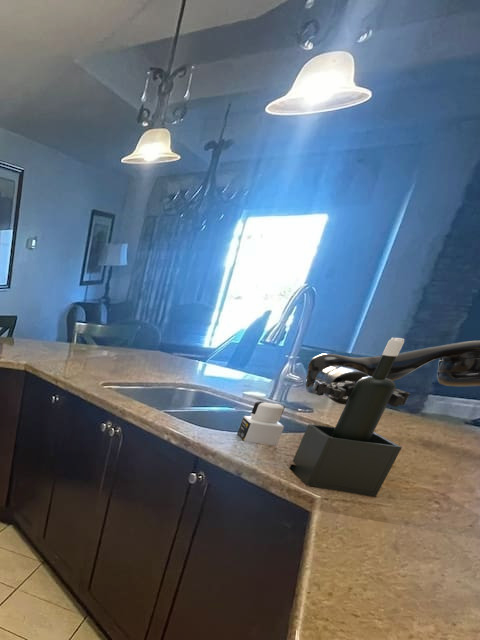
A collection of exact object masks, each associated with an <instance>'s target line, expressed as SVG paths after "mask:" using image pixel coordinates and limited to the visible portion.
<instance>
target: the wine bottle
mask: <svg viewBox="0 0 480 640" xmlns="http://www.w3.org/2000/svg"><path fill="white" fill-rule="evenodd" d="M404 343H405V338H402V337H390V339H389V340H388V341H387V343H386V346H385V348H384V350H383V351H382V354H381V355H382V357H381V359H380V361H379V364H378V366H377V368H376V370H375V372H374V374H373V376H369V377H364V378H361V379H360V380H358V381H357V382H356V384H355V386H354V388H353V390H352V392H351V395H350V397H349V399H348V401H347V403H346V405H344V408H343V409H342V412H341V414H340V416H339V418H338V420H337V423H336V425H335V429H334V431H333V433H332V436H331V437H333V438H340V439H348V440H355V441H363V442H369V440H370V438H371V436H372V434H373V432H375V430H376V428H377V426H378V424H379V422H380V420H381V418H382V416H383V414H384V412H385V410H386V408H387V406H388V405H389V404H388V402H389V400H390V398H391V396H392V394H393V392H394V390H395V388H396V383H395V382H394V381H392V380H390V379H387V378H386V377H387V375H388V373H389V371H390V369H391V367H392V365H393V363H394V361H395V358H396V356H398V354H399V353H401V350H402V348H403V346H404Z"/></svg>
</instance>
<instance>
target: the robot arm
mask: <svg viewBox="0 0 480 640" xmlns="http://www.w3.org/2000/svg"><path fill="white" fill-rule="evenodd" d="M381 357H382V354H381V355H372V356H360V357H359V356H347V355H342V354H336V353H320V354H317V355H315V356H314V357H312V358H311V359H310V360H309V362H308V365H307V372H306V376H305V377H306V378H305V383H304V389H305V391H306V392H307V393H309V394H312V395H316V396H320V397H321V396H325V397H327V398H328V399H330V400H331V401H332V402H334V403H337V404H339V405H344V406H345V405H346V403H347V401H348V399H349V397H350V395H351V392H352V390H353V388H354V386H355V384H356V382H357V381H358V380H360V379H361V378H364V377H369V376H373V374H374V372H375V370H376V368H377V366H378V364H379V361H380V359H381ZM435 360H438V364H437V371H436V372H437V373H436V380H437V382H438V383H439V384H440V385H443V386H446V387H461V388H462V387H480V340H468V341H467V340H466V341H459V342H452V343H447V344H441V345H434V346H429V347H424V348H419V349H413V350H409V351H403V352H399V354H398V356H396V358H395V361H394V363H393V365H392V367H391V369H390V371H389V373H388V375H387V377H386V378H387V379H390V380H392V381H393V382H394V381H397V380H399V379H402V378H403V377H406V376H407V375H409V374H411V373H412V372H414V371H416V370H418V369H419V368H421V367H422V366H424V365H427V364H428V363H430V362H432V361H435ZM409 396H411V393H410V392H408V391H406V390H402V389H400V388H397V387H395V390H394V392H393V394H392V396H391V398H390V400H389V402H388V404H387V405H389V406H390V407H394V408H395V407H396V408H398V406H405V405H406V402H407V400H408V399H409Z"/></svg>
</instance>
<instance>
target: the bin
mask: <svg viewBox="0 0 480 640" xmlns="http://www.w3.org/2000/svg"><path fill="white" fill-rule="evenodd" d="M335 427H336V426H335ZM335 427H334V426H326V425H319V424H311V423H309V424H308V425H307V426H306V428H305V432H304V434H303V436H302V438H301V441H300V443H299V445H298V447H297V449H296V452H295V454H294V457H293V459H292V462H293V464H290V466H289V468H288V469H289V470H290V471H291V473H293V474H294V475H295V476H296V477H297V478H298V479H299V480H300V479H301V480H302V481H303V482H304V483H305V484H306V485H309V486H308V487H312V486H315V487H314V488H318V487H321V488H320V489H324V488H326V489H325V490H330V489H332V491H336V490H337V491H336V492H342V491H343V492H344V493H348V492H349V493H350V494H354V493H355V495H362V496H367V497H373V498H377V496H378V494H379V492H380V490H381V488H382V486H383V484H384V482H385V480H386V479H387V477H388V475H389V473H390V471H391V469H392V467H393V465H394V463H395V462H396V459H397V458H398V456H399V454H400V452H401V450H402V449H403V447H402V446H401V445H399V444H397V443H395V442H393V441H391V440H389V439H388V438H386V437H384V436H383V435H381V434H379V433H377V432H375V431H374V432H373V434H372V436H371V438H370V440H369V442H363V441H355V440H348V439H340V438H333V437H331V436H332V433H333V431H334V429H335ZM301 480H300V481H301ZM302 481H301V482H302ZM303 482H302V483H303ZM304 483H303V484H304ZM305 484H304V485H305ZM306 485H305V486H306Z"/></svg>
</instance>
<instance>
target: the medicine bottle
mask: <svg viewBox="0 0 480 640" xmlns="http://www.w3.org/2000/svg"><path fill="white" fill-rule="evenodd" d="M285 408H286V407H285V406H284V405H283V404H282V403H280V402H276V401H270V400H258V401H256V402H254V405H253V408H252V410H251V413H250V415H244V416H243V417H242V420H241V422H240V425H239V428H238V430H237V433H236V435H237V436H238V437H239V439H240V440H241V441H242V442H245V443H246V442H247V443H253V444H260V445H261V444H262V445H268V446H273V447H277V446H278V443H279V441H280V439H281V436H282V434H283V432H284V429H285V426H284V425H283V424H282V423H281V422H279V421H280V420H281V418H282V416H283V413H284V411H285Z"/></svg>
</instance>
